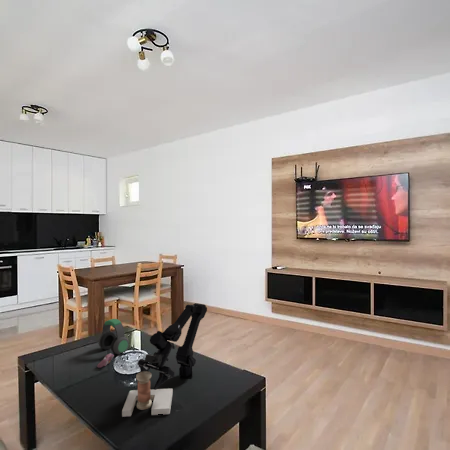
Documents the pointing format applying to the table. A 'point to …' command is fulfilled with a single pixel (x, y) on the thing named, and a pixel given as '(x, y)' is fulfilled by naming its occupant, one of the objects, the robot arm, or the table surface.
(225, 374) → the table surface
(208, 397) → the table surface
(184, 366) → the robot arm
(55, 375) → the table surface
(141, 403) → the bobbin
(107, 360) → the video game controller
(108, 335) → the headphones
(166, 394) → the notched board
